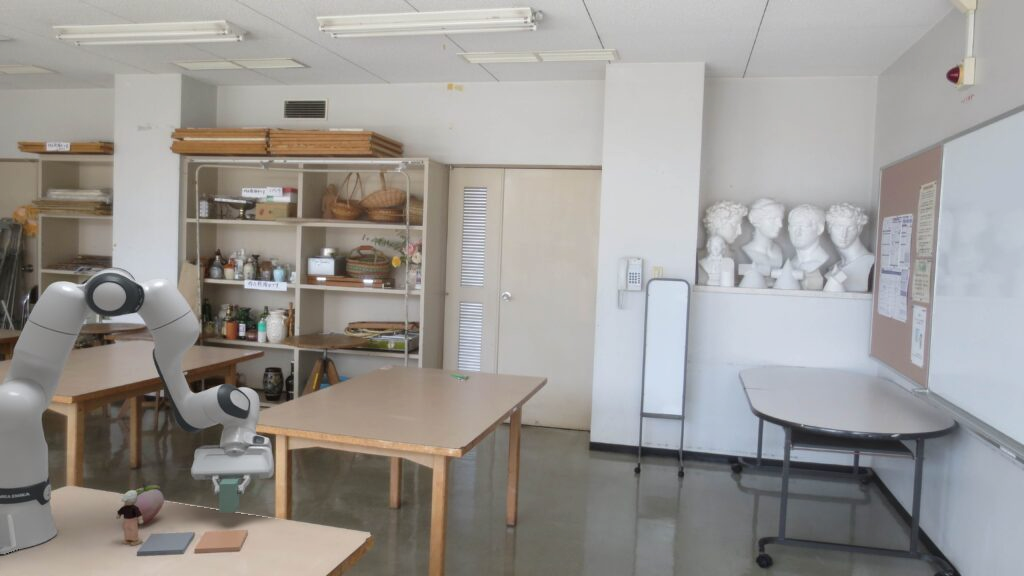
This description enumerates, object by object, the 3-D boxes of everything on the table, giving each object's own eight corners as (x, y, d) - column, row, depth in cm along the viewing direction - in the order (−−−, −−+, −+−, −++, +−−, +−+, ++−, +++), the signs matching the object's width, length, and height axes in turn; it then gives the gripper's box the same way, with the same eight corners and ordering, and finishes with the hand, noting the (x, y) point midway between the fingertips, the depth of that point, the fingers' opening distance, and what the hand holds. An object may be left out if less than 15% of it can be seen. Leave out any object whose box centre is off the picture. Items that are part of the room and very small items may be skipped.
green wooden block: (219, 513, 180) (219, 484, 179) (222, 507, 184) (222, 478, 183) (235, 512, 181) (235, 483, 180) (239, 506, 185) (239, 478, 184)
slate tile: (136, 555, 164) (136, 551, 164) (151, 537, 174) (151, 533, 174) (183, 553, 166) (183, 549, 166) (194, 535, 175) (194, 532, 175)
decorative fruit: (143, 514, 188) (143, 477, 188) (169, 517, 186) (169, 480, 186) (115, 527, 179) (115, 488, 179) (142, 531, 177) (142, 492, 176)
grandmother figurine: (150, 539, 173) (150, 488, 172) (140, 546, 169) (140, 494, 168) (120, 537, 173) (120, 486, 172) (110, 544, 170) (109, 492, 169)
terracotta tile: (194, 553, 166) (194, 549, 166) (205, 535, 176) (205, 531, 176) (239, 551, 168) (239, 546, 168) (247, 533, 178) (247, 529, 177)
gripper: (194, 439, 187) (183, 488, 178) (275, 438, 190) (268, 486, 181) (198, 451, 191) (188, 499, 182) (277, 449, 195) (271, 497, 186)
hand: (229, 493), depth 182 cm, fingers closed on green wooden block, 4 cm apart
